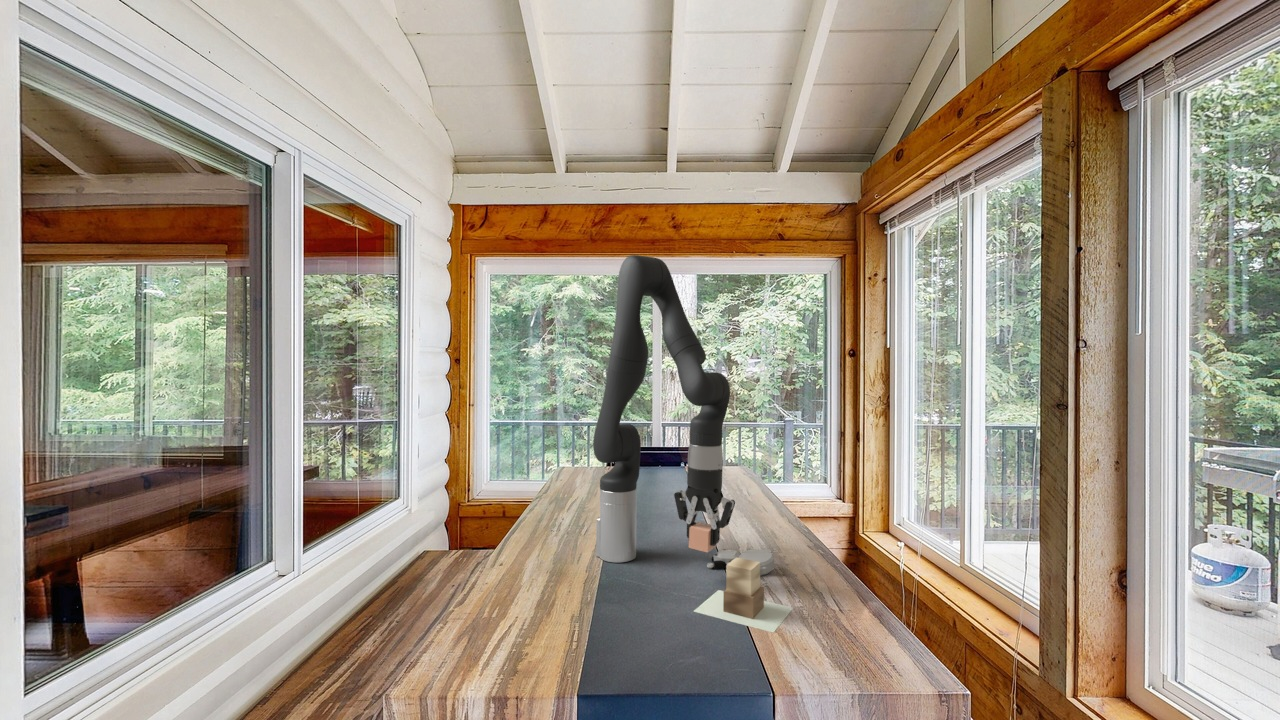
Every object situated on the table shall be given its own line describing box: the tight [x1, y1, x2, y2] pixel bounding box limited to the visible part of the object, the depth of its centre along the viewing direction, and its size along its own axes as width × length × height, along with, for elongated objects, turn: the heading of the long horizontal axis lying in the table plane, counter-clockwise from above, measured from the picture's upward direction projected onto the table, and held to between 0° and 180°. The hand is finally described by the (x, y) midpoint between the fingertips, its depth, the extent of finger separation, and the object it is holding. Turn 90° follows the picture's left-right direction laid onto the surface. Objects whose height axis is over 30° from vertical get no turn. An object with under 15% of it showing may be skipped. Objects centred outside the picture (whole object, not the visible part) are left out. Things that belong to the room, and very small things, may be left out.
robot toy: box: [706, 548, 777, 577], centre depth 136 cm, size 12×4×15 cm
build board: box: [693, 589, 794, 634], centre depth 113 cm, size 16×12×1 cm
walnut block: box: [723, 585, 765, 619], centre depth 113 cm, size 6×6×4 cm
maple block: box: [725, 557, 761, 596], centre depth 113 cm, size 5×5×5 cm
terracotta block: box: [688, 521, 717, 553], centre depth 126 cm, size 4×4×4 cm
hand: (702, 542), depth 126 cm, fingers closed on terracotta block, 4 cm apart
